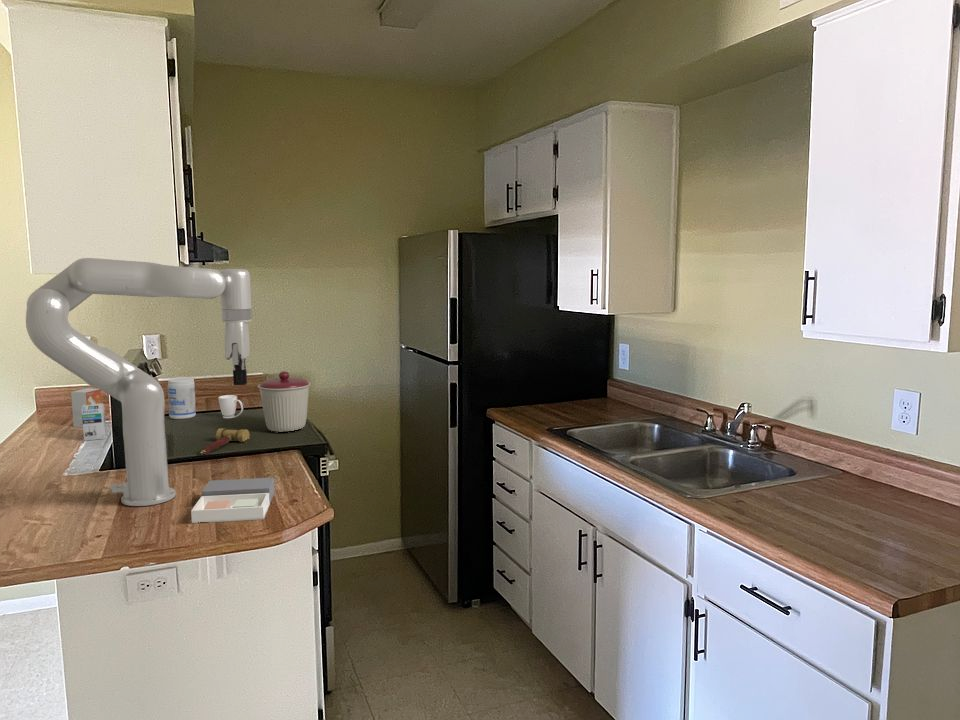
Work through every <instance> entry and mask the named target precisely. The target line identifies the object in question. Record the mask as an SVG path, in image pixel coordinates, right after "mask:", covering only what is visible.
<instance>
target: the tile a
mask: <svg viewBox="0 0 960 720" xmlns="http://www.w3.org/2000/svg"><path fill="white" fill-rule="evenodd" d="M220 508H230V501H216V502H208V503H207V504H206V506H205V508H204V509H220Z"/></svg>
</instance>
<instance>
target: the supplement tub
mask: <svg viewBox="0 0 960 720" xmlns="http://www.w3.org/2000/svg"><path fill="white" fill-rule="evenodd" d="M195 389H196V387H195V379H194V378H192V377H176V378H171V379H168V381H167V396H168V397H167V398H168V416H169V418H170V419H175V420H182V419H183V420H184V419H185V420H186V419H191V418H194V417H195V416H196V415H197V413H196V412H197V411H196V390H195Z"/></svg>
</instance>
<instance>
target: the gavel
mask: <svg viewBox="0 0 960 720" xmlns="http://www.w3.org/2000/svg"><path fill="white" fill-rule="evenodd" d="M250 435H251V433H250V432H249V430H248V429H246V428H245V429H237V430H236V429H227V428H222V427H221V428H218V429H217V431H216V432H215V439H216V440H215V441H213V442H211V443H209V444H208V445H206V446H204V447H203V448H202V450H200V452H199V454H200V453H203V452H208V451H212V450H214V449H216V448H218V447H220V446H222V447H224V446H225V445H227V444H228V443H229V441H245V440H247V439H249V440H250V437H251V436H250ZM223 445H224V446H223ZM220 448H221V447H220ZM218 449H219V448H218Z"/></svg>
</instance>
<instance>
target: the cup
mask: <svg viewBox="0 0 960 720" xmlns="http://www.w3.org/2000/svg"><path fill="white" fill-rule="evenodd" d="M217 398H218V399H217V400H218V403H219V408H220V412H221V414H222V418H223V419H232V418H233V419H234V418H237V417H239V416H241V414H242V413H243V411H244V406H243V402H242V401H241V400H240V399H238V395H234V394H225V395H220V396H218V397H217ZM237 403H239V404H240V411H239V413H238V414H237V415H235V414H236V410H237Z"/></svg>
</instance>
